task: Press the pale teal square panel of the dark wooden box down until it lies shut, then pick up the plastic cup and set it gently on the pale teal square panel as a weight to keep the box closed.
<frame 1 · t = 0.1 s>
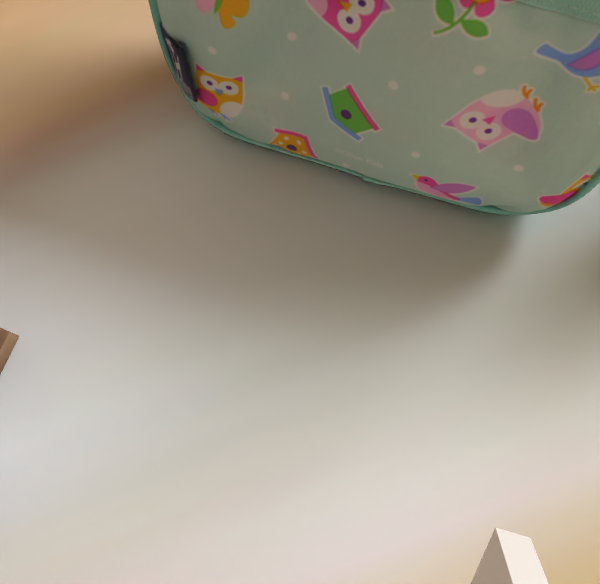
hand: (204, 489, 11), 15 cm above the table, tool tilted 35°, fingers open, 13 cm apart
lunch box: (365, 128, 33), on the table
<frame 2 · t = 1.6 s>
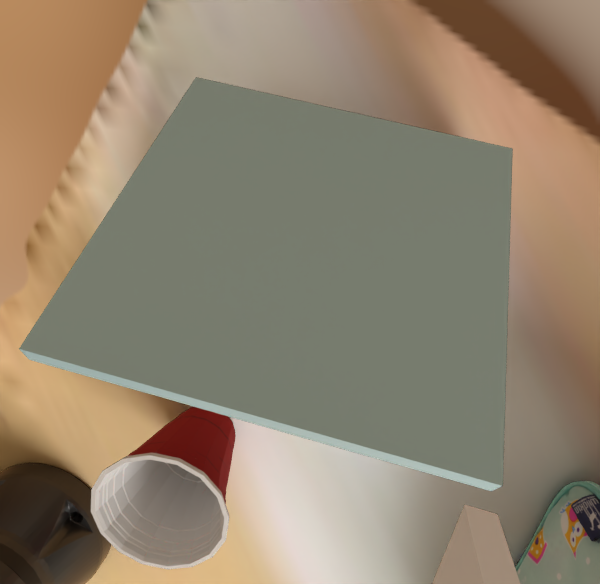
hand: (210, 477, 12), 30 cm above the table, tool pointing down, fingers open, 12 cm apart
pale teal square panel: (310, 237, 23), point 17 cm above the table, hinge at 50.0°
lunch box: (561, 568, 46), on the table
plastic cup: (209, 430, 48), on the table
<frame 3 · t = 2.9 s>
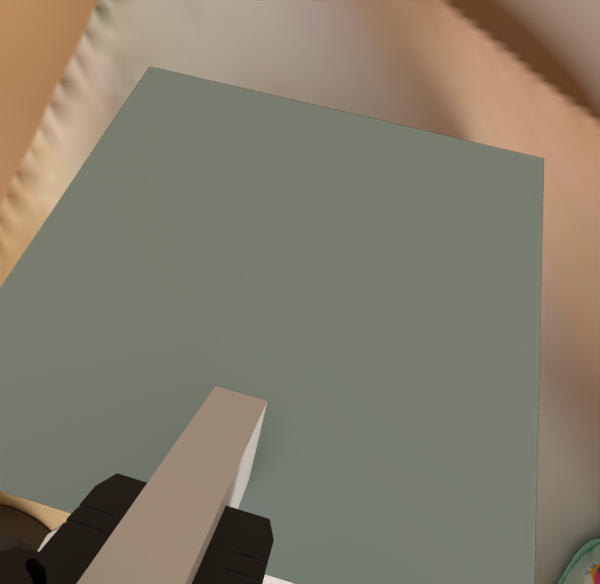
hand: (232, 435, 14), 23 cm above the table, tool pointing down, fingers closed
pale teal square panel: (284, 282, 18), point 17 cm above the table, hinge at 46.4°, touching gripper
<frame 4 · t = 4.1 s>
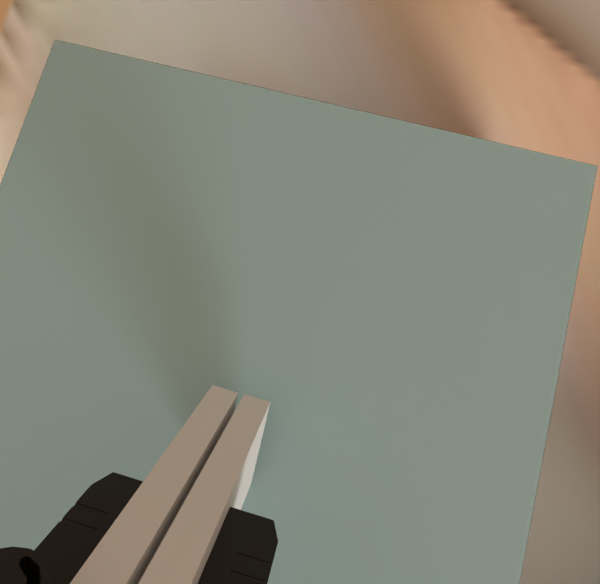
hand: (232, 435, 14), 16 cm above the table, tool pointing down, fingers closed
pale teal square panel: (241, 371, 15), point 14 cm above the table, hinge at 25.4°, touching gripper
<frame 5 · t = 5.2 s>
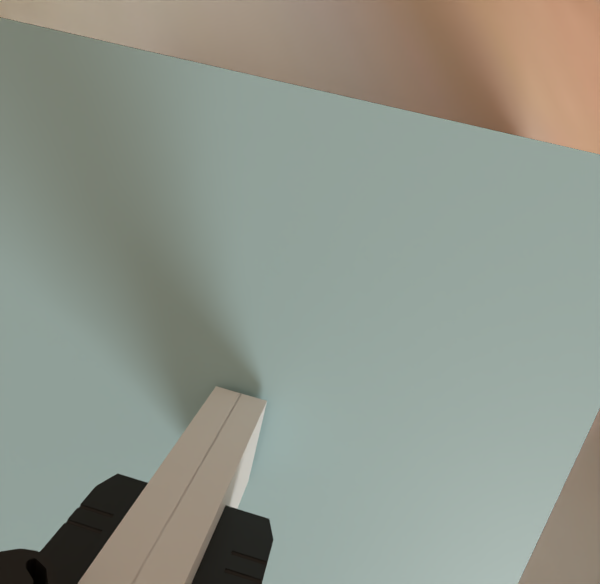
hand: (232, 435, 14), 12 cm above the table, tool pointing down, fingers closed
pale teal square panel: (227, 414, 14), point 11 cm above the table, hinge at 1.0°, touching gripper
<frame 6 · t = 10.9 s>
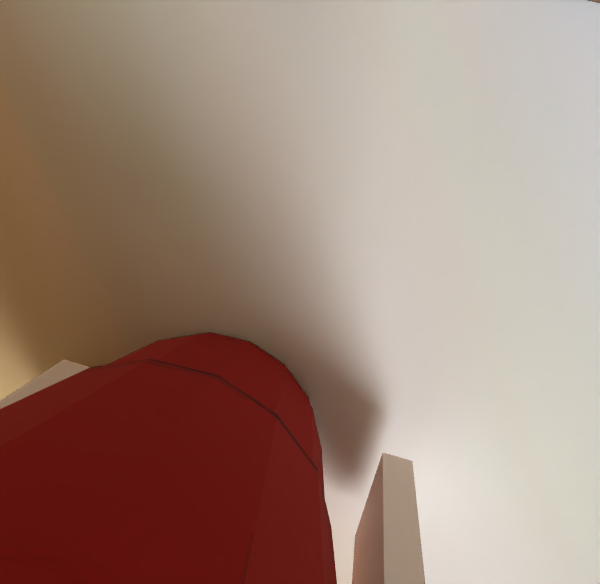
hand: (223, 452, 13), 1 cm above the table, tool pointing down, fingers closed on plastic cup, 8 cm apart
plastic cup: (225, 427, 14), on the table, touching gripper
when the fingers open (12 cm above the table, at t = 19.1 s): plastic cup stays where it is, resting on pale teal square panel.
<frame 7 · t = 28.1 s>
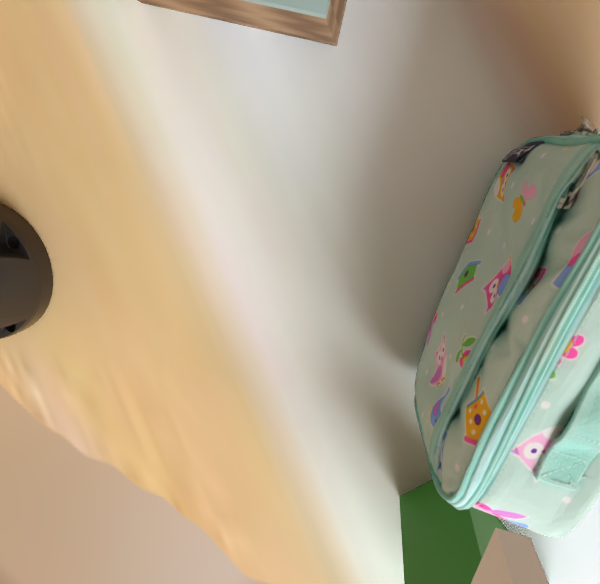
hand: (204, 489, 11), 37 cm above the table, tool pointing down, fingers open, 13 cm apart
hardback book: (474, 539, 53), on the table
lunch box: (502, 277, 45), on the table
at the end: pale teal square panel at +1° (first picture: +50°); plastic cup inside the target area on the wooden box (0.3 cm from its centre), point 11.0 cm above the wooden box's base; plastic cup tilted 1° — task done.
